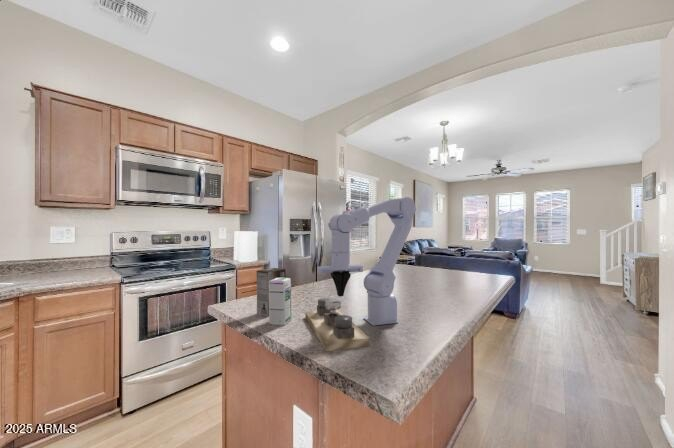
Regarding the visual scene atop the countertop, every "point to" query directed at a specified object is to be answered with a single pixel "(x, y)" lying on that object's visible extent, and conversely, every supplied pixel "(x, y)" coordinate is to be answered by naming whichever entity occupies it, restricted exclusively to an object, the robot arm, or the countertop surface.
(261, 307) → the coffee box
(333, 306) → the knob middle
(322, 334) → the mount board
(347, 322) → the knob
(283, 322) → the syrup box
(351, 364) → the countertop surface
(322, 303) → the knob
